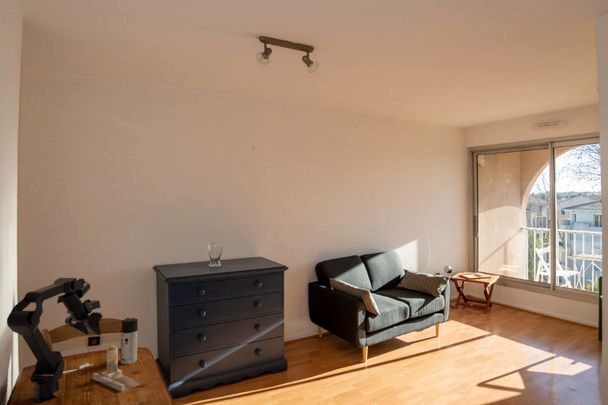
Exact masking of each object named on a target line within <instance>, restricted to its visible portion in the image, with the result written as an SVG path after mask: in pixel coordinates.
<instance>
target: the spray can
mask: <svg viewBox="0 0 608 405" xmlns="http://www.w3.org/2000/svg"><path fill="white" fill-rule="evenodd" d="M138 320H139V319H138V318H136V317H131V318H129V317H128V318H124V319H122V320H121V331H120V332H121V333H120V334H121V336H120V337H121V340H120V344H121V345H120V364H122V365H129V364H130V365H131V364H133V363H136V362H137V360H138V333H139V332H138V329H139V328H138V327H139V325H138V322H139V321H138Z"/></svg>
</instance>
